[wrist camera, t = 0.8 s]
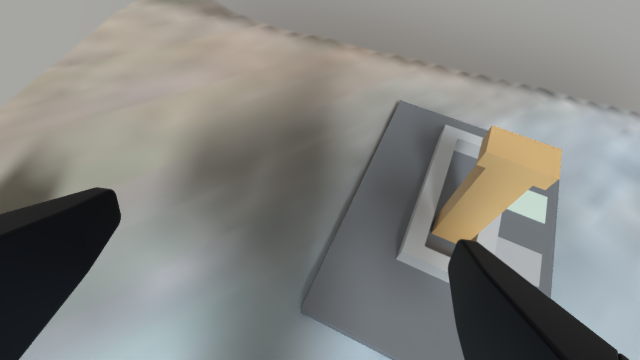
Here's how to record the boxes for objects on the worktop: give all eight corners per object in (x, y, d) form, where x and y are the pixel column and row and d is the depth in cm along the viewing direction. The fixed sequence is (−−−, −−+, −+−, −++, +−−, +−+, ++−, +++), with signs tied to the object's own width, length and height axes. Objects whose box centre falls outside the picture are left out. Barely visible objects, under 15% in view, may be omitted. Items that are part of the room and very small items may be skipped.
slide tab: (470, 251, 22) (559, 178, 14) (424, 231, 22) (486, 151, 15) (475, 229, 23) (561, 149, 15) (430, 210, 23) (492, 125, 16)
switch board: (527, 429, 18) (558, 435, 16) (300, 312, 21) (300, 303, 18) (551, 165, 28) (572, 145, 26) (397, 109, 31) (404, 88, 28)
